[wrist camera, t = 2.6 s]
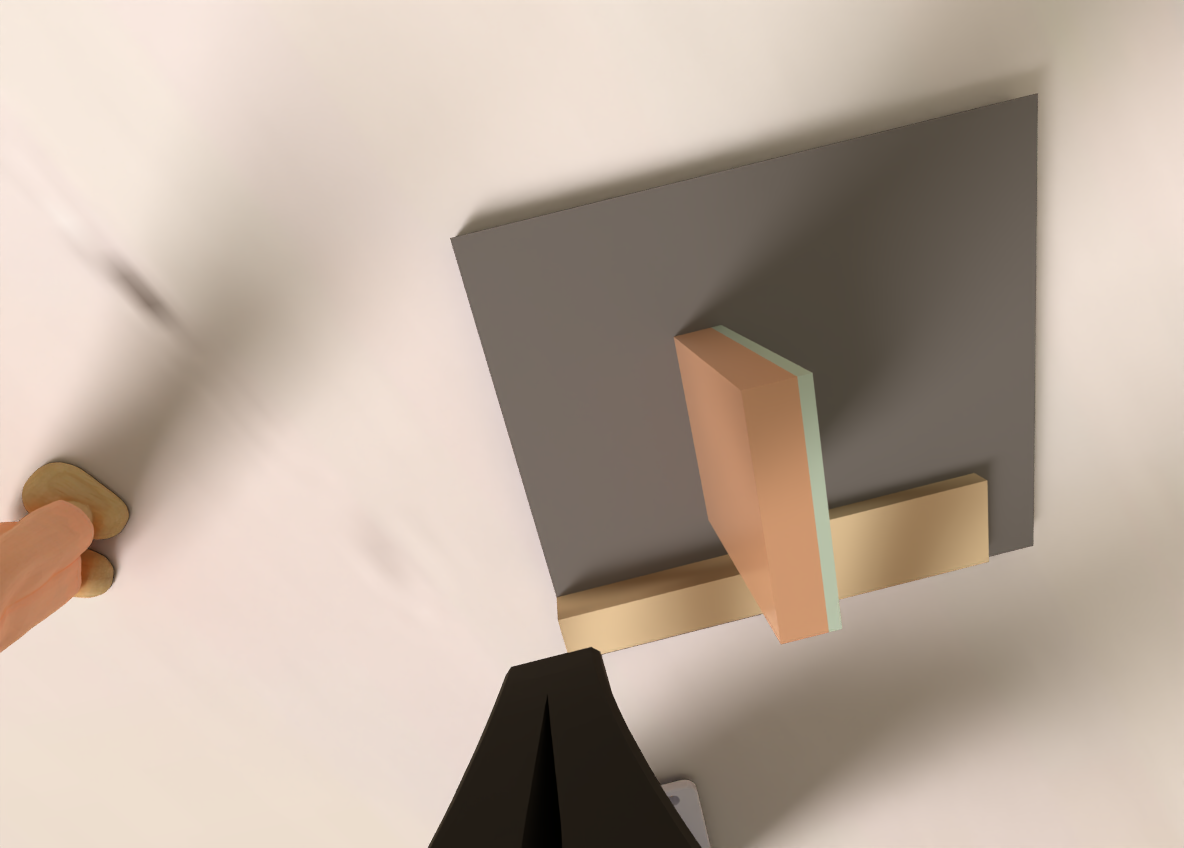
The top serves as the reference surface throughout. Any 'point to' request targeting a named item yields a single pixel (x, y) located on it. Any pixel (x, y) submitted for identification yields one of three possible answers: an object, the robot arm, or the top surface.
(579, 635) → the light wooden plank
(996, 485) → the mat
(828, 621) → the tile
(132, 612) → the top surface
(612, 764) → the robot arm
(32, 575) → the grandmother figurine
